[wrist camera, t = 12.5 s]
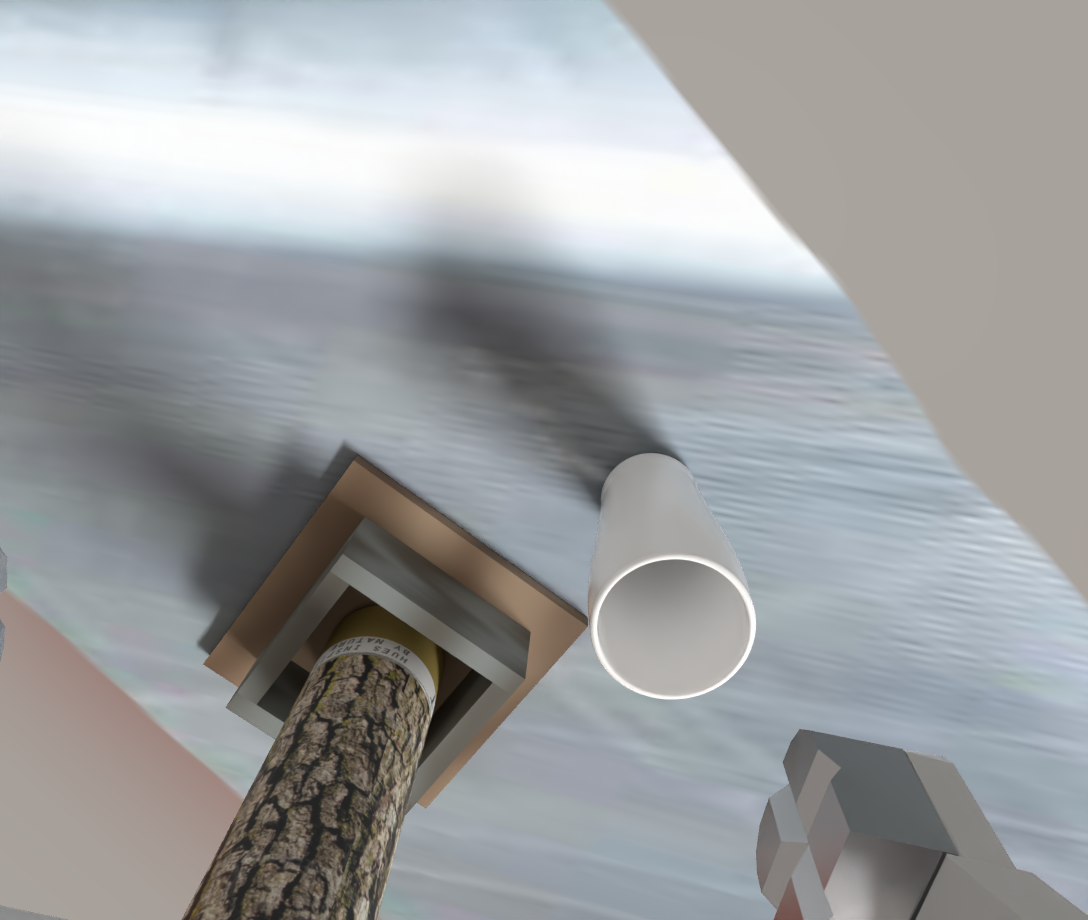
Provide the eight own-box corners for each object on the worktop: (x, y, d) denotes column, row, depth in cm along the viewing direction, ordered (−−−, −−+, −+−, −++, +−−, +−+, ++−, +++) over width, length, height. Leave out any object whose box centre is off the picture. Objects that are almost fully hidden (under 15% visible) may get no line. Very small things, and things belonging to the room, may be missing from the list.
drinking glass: (623, 571, 53) (637, 728, 39) (565, 472, 52) (557, 598, 37) (732, 518, 52) (787, 660, 38) (676, 414, 50) (711, 522, 36)
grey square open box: (209, 655, 56) (167, 713, 51) (357, 454, 52) (329, 493, 46) (428, 797, 59) (411, 867, 53) (587, 617, 54) (587, 673, 49)
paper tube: (305, 649, 55) (89, 1036, 31) (385, 577, 53) (222, 928, 29) (390, 724, 56) (245, 1150, 32) (471, 656, 54) (381, 1053, 31)
